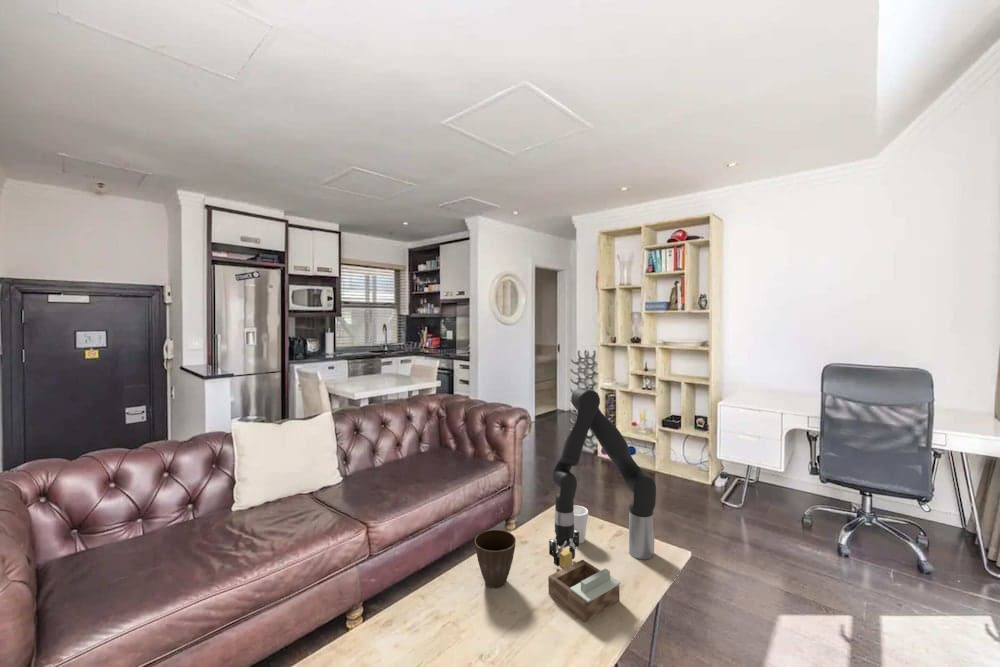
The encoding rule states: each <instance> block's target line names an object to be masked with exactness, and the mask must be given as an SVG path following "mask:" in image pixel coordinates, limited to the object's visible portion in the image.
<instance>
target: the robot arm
mask: <svg viewBox="0 0 1000 667" xmlns="http://www.w3.org/2000/svg"><path fill="white" fill-rule="evenodd" d="M570 400H571V404H572V405H573V407H574V409H575V410H576V411H577V415H576V419H575V423H574V425H573V427H572V429H571V430H570V431H569V433H568V435H567V436H566V439H565V442H564V445H563V449H562V451H561V456H560V458H559V459H558V461H557V463H556V464H555V466H554V468H553V470H552V471H553V472H552V481H553V483H554V485H556V486H557V487H559V489H560V490H559V492H557V494H556V495H555V499H554V500H555V502H554V503H555V507H554V508H555V510H554V533H555V539H549V541H548V543H549V544H548V550H549V552H548V553H549V555H550V556H551V557H552V558H553V564H554V566H557V567H559V566H560V557H559V556H560V553H561V552H562V551H563V549H564V548H565V549H566V547H569V548H568V550H569V551H570V552H572V560H575V557H576V550H577V547H578V548H579V547H580V544H579V532H578V531H576V530H574V500H575V496H576V492H577V487H578V486H577V485H578V482H577V481H578V480H577V478H576V476H575V474H574V473H572V472H571V469H572V467H576V466H578V464H579V462H580V458H581V456H582V451H583V449H584V448H583V447H584V444H585V441H586V439H587V436H588V433H589V430H591V431H592V433H593V435H594V437H595V438H596V440H597V441H598V443H599V445H600V447H601V448H602V450H604V452H605V453H606V455H607V457H609V459H610V460H611V462H613V464H614V465H615V466H616V467H617V469H618V471H619V473H620V474H621V476H622V479H623V480H624V483H625V484H626V486H627V487H628V488H629V490H630V491H631V492H632V493H633V501H631V502H630V503H629V507H628V514H629V517H628V527H629V529H628V534H629V535H628V538H629V539H628V548H629V549H628V552H629V554H630V555H631V557H633V558H635V559H638V560H650V559H651V558H653V557H654V554H655V530H654V509H655V507H656V503H657V502H656V498H657V486H656V482H655V480H654V479H653V478H652V477H651V476H650V475H649V474H647V473H646V472H645V471H643V470H642V469H641V467H640V466H639V465H638V463H636V462H635V460H634V458H633V456H632V453H631V450H630V447H629V445H628V442H627V441H626V439H625V438H624V436H623V435H622V433H621V432H620V431H619V429H618V427H616V425H614V423H613V422H611V421H610V419H608V417H607V416H606V415H605V414H603V412H602V411H601V409H600V408H599V407H600V404H601V398H600V395H599V394H598V393H597V392H596V391H595V390H594V389H590V388H586V387H578V388H575V389H574V390H573V391H572V393H571V398H570ZM572 538H573V541H572ZM560 567H561V566H560Z"/></svg>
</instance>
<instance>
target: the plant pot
mask: <svg viewBox="0 0 1000 667" xmlns="http://www.w3.org/2000/svg"><path fill="white" fill-rule="evenodd" d="M516 542H517V539H516V537H515V536H514V535H513V533H511V532H509V531H508V530H503V529H488V530H484V531H482V532H480V533H479V534H477V535H476V536H475V538H474V545H475V553H476V556H477V561H478V562H477V563H478V566H479V571H480V572H481V575H482V578H483V580H484V584H485V585H486V586H487V587H488V588H490V589H501V588H502V587H504V586H505V585H506V582H507V581H508V580H507V579H508V577H509V574H510V571H511V569H512V568H511V567H512V564H513V560H514V555H515V550H516V549H515V548H516Z"/></svg>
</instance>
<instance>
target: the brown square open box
mask: <svg viewBox="0 0 1000 667" xmlns="http://www.w3.org/2000/svg"><path fill="white" fill-rule="evenodd" d="M599 571H601V569H599V568H597V567H595V566H594V565H592V564H591V563H589V562H588V561H586V560H584V559H581V560H578V561H577V562H574V563H572V565H570V566H568V567H566V568H562V569H560V570H557V571H556V572H554V573H552V574H550V575H548V595H549V596H550V597H552V599H554V600H556V602H558V603H560V604H561V605H562V606H563V607H564V608H566V609H567V610H568V611H570V613H572V614H573V615H574V616H576V618H578V619H580V620H581V621H582V622H583V623H586V622H588V621H589V620H591V619H592V618H594V617H596V616H597V615H598V614H600V613H602V612H604V611H605V610H607V609H609V608H610V607H612V606H614V605H616V604H617V603H619V602H620V584H619V585H618V586H616V587H614V588H613V589H611V590H609V591H607V592H606V593H604V594H602V595H600V596H599V597H597V598H595V599H594V600H592V601H590V602H586V601H585V600H583V599H582V598H581V597H579V596H578V595H577V594H575V593H574V592H572V591H571V590H570V588H571V587H572V586H574V585H576V584H578V583H580V582H581V581H582V580H584V579H586V578H588V577H590V576H592V575H594V574H596V573H598V572H599Z"/></svg>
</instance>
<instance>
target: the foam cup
mask: <svg viewBox="0 0 1000 667" xmlns="http://www.w3.org/2000/svg"><path fill="white" fill-rule="evenodd" d="M588 518H589V510H588V509H587V508H586V507H584V506H581V505H574V530H576V531H578V532H579V545H580V544H582V543H584V542H585V540H586V539H585V538H586V532H587V525H588ZM572 541H573V538H572Z"/></svg>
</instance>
